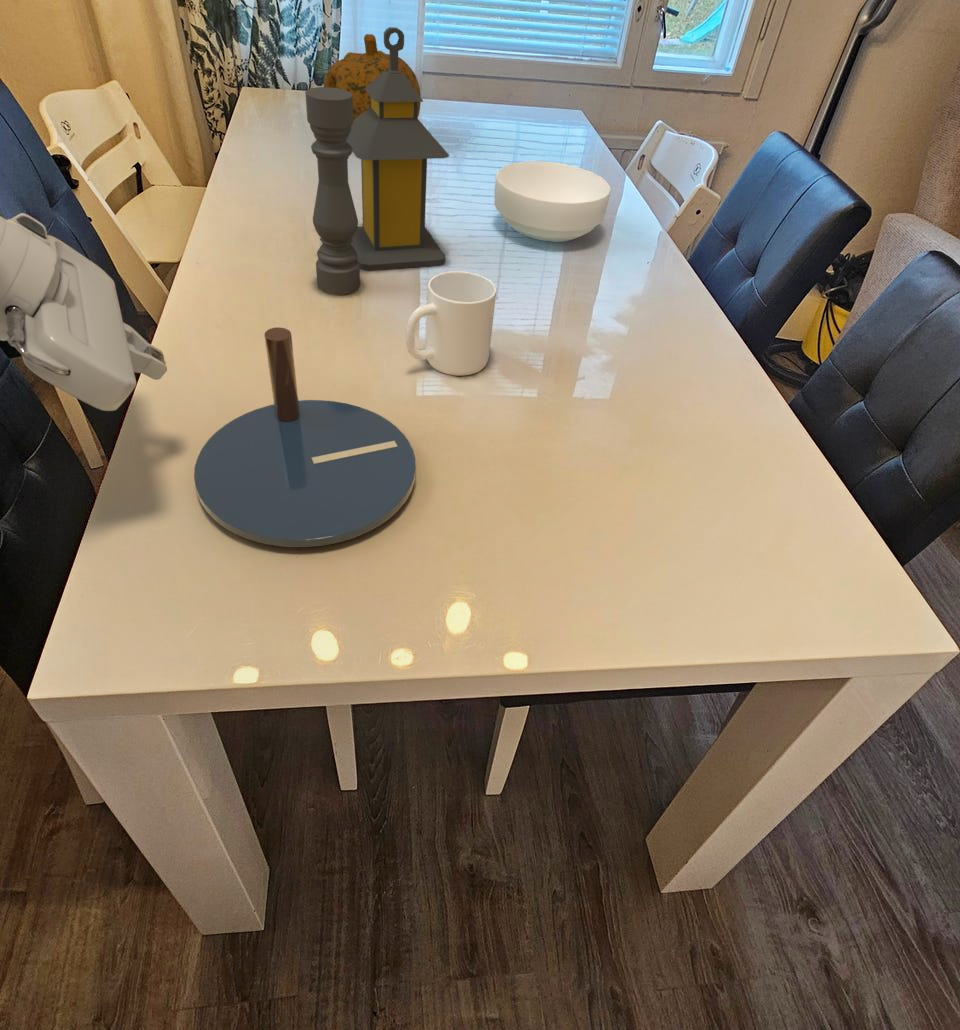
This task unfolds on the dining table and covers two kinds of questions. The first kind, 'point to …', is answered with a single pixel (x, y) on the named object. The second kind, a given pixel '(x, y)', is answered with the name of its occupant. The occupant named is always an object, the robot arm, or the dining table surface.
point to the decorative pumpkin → (365, 74)
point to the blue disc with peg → (303, 466)
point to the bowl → (550, 199)
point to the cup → (455, 323)
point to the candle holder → (333, 190)
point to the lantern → (394, 173)
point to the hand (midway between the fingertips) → (161, 366)
